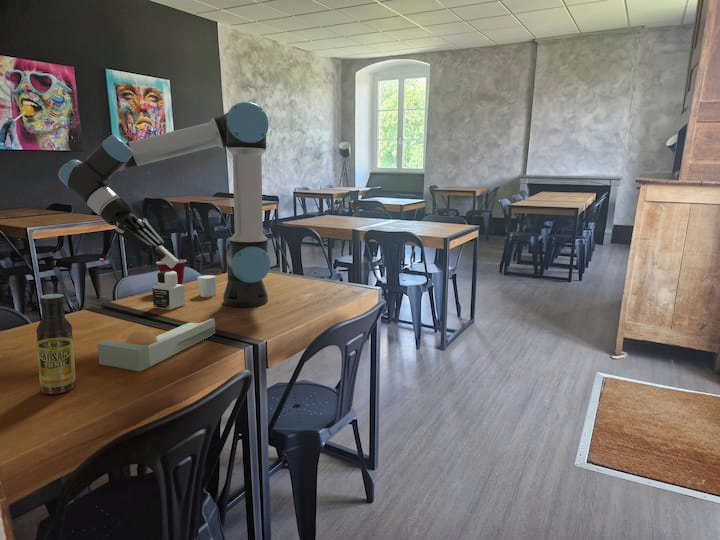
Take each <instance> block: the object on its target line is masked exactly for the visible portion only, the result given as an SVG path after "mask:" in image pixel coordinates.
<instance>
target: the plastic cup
mask: <svg viewBox="0 0 720 540" xmlns="http://www.w3.org/2000/svg"><path fill="white" fill-rule="evenodd" d="M178 260H179V261H178V262H177V264H176V265H175V266H174V267H173V268H170V267H169V266H167V265H166V264H165V263H164V262H163V261H162V260H160V261H156V262H155V264H156V265H157V267H158V270H159V272H161V271H175V272H176V273H177V282H178V283H177V284H181V285H184V284H183V282H184V275H185V268H186V267H185V266H186V263H187V259H178Z"/></svg>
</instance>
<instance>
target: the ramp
mask: <svg viewBox="0 0 720 540" xmlns="http://www.w3.org/2000/svg"><path fill="white" fill-rule="evenodd" d="M213 334H215V335H216V322H215V318H213V317H212V318H209V319H207V320H204V321H202V322H200V323H198V322H187V323H183V324H182V325H180V326H178V327H175V328H173V329H170V330H168V331H166V332H163V333H161V334H158V335H155V336H156V338H157V342H154V343H152V344H150V345H148V346H145V345H138V344H132V343H126V341H119V340H112V339H107V340H103V341H101V342H99V343H97V352H98V353H97V354H98V362H99V365H101V366H102V365H103V366H108V367H113V368H114V367H115V368H119V369H124V370H129V371H135V372H143V371H144V370H147V369H148V368H150V367H153V366H154V365H156V364H159V363H160V362H162V361H164V360H166V359H168V358H170V357H172V355H173V356H175V355H177V354H178V352H179V353H180V351H181V352H182V350H183V351H184V349H185V350H186V348H187V349H188V347H189V348H190V346H191V347H192V345H193V346H195V345H197V344H198V342H199V343H201V342H202V340H203V341H205V340H206V338H207V339H208V337H209V338H210V336H211V337H212V335H213ZM213 336H214V335H213ZM204 339H205V340H204ZM200 341H201V342H200ZM196 343H197V344H196ZM194 344H195V345H194ZM176 353H177V354H176ZM174 354H175V355H174Z"/></svg>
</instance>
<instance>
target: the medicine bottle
mask: <svg viewBox="0 0 720 540" xmlns="http://www.w3.org/2000/svg"><path fill="white" fill-rule="evenodd" d="M177 283H178V282H177V273H176V272H175V271H161V272H160V271H159V272H157V285H155V286H152V290H151V292H152V301H153V308H154V309H160V310H161V309H162V310H167V311H171V310H173V309H177V308H180V307H182V306H185V304H186V301H185V300H186V299H185V285H184V284H182V285H181V284H177Z"/></svg>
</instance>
